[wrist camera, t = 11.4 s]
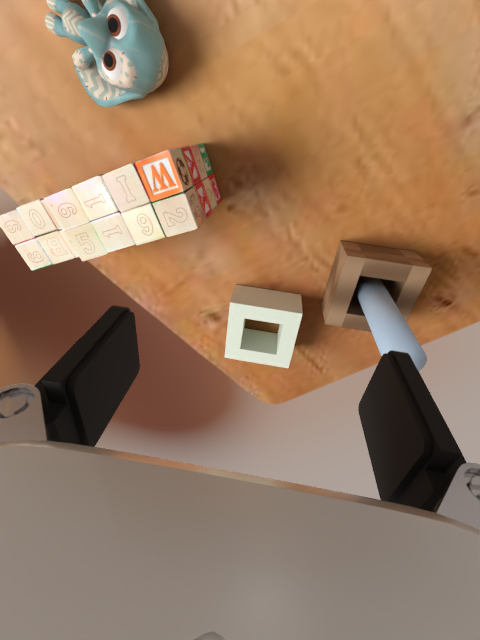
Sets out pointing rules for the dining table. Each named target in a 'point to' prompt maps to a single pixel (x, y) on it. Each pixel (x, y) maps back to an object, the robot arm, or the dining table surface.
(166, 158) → the stack of blocks
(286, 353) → the white square hollow block
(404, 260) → the brown wooden square ring
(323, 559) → the robot arm
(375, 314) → the light blue rod
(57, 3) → the teal cartoon creature figurine
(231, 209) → the dining table surface
